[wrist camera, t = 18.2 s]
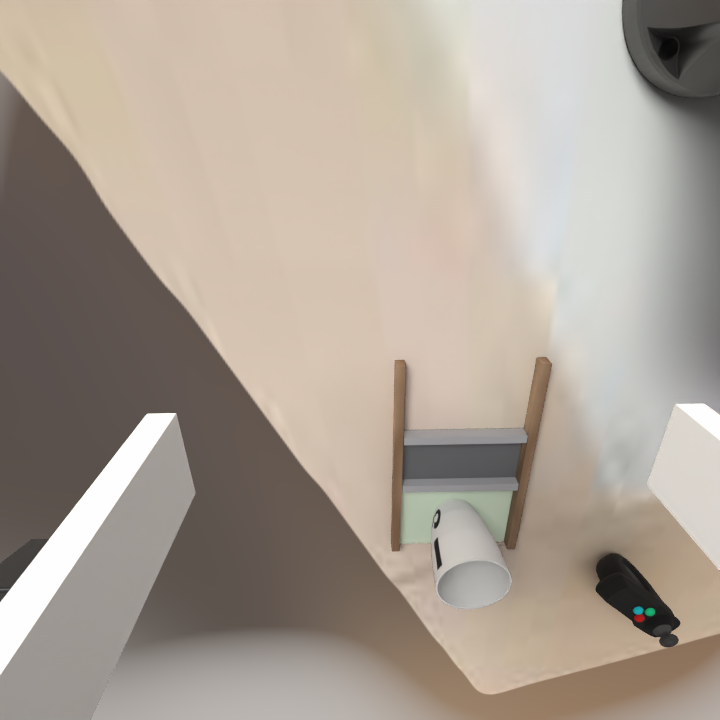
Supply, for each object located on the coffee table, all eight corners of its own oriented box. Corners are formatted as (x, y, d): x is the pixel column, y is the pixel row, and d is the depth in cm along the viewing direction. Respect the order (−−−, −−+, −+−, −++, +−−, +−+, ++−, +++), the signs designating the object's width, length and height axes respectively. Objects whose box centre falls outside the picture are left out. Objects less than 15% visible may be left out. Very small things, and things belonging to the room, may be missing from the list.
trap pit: (523, 428, 50) (527, 435, 49) (513, 481, 54) (517, 490, 52) (402, 430, 50) (404, 438, 49) (401, 483, 54) (402, 492, 52)
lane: (546, 357, 46) (551, 363, 45) (511, 539, 58) (514, 549, 57) (394, 360, 46) (396, 366, 45) (391, 541, 58) (391, 551, 57)
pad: (513, 481, 54) (514, 483, 53) (503, 539, 58) (503, 541, 58) (401, 483, 54) (401, 485, 53) (399, 541, 58) (399, 543, 58)
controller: (622, 585, 62) (667, 659, 53) (568, 546, 59) (606, 619, 50) (648, 569, 61) (699, 643, 52) (594, 528, 57) (638, 600, 48)
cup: (420, 493, 54) (433, 563, 45) (486, 486, 53) (513, 555, 44) (424, 539, 57) (437, 612, 48) (485, 532, 57) (510, 605, 48)
